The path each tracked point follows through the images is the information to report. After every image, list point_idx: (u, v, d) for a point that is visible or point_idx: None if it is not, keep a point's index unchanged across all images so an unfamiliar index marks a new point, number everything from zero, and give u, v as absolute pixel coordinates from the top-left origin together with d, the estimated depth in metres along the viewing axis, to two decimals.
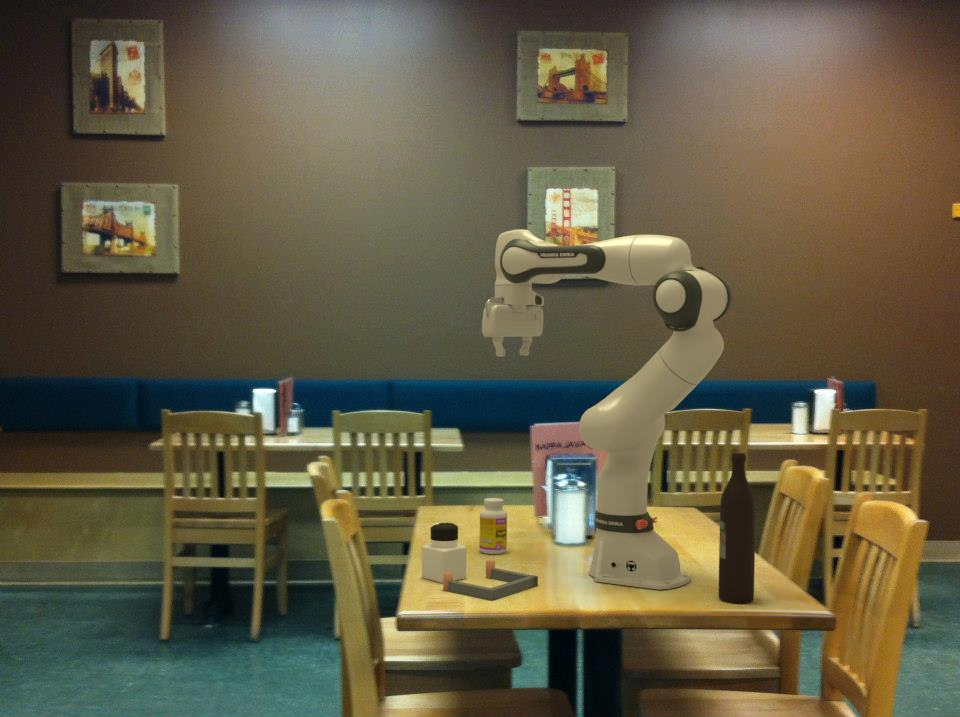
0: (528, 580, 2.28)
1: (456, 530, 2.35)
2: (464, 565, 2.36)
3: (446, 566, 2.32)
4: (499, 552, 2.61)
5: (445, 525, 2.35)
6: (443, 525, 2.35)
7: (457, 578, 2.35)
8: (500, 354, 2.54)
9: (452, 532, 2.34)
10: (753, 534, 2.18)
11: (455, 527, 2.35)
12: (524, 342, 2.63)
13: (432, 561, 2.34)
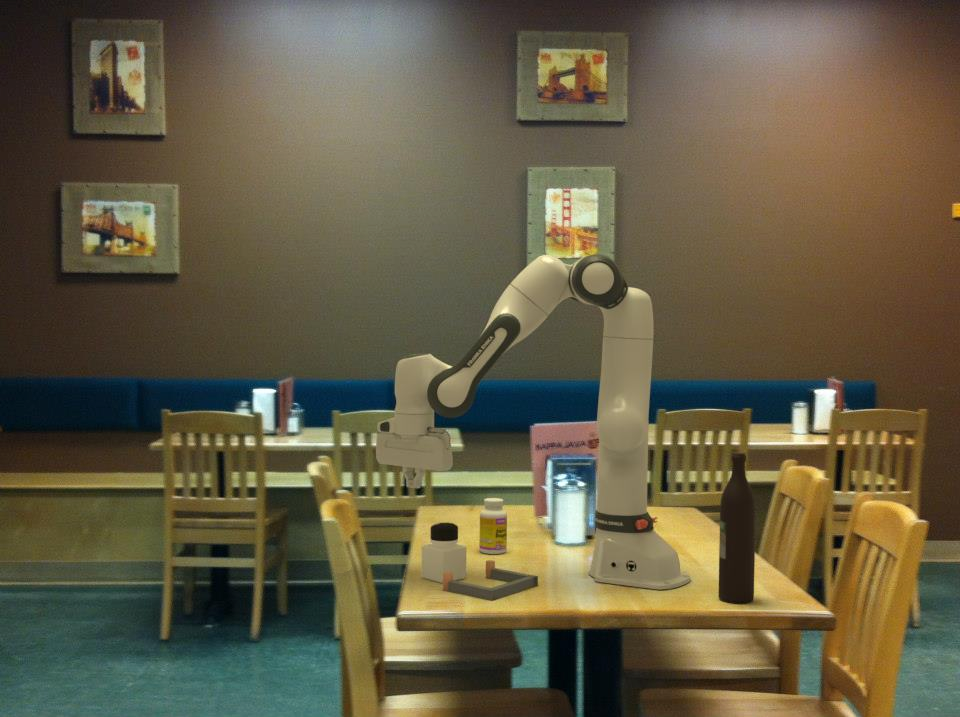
0: (528, 580, 2.28)
1: (456, 530, 2.35)
2: (464, 565, 2.36)
3: (446, 566, 2.32)
4: (499, 552, 2.61)
5: (445, 525, 2.35)
6: (443, 525, 2.35)
7: (457, 578, 2.35)
8: (420, 485, 2.41)
9: (452, 532, 2.34)
10: (753, 534, 2.18)
11: (455, 527, 2.35)
12: (407, 473, 2.42)
13: (432, 561, 2.34)
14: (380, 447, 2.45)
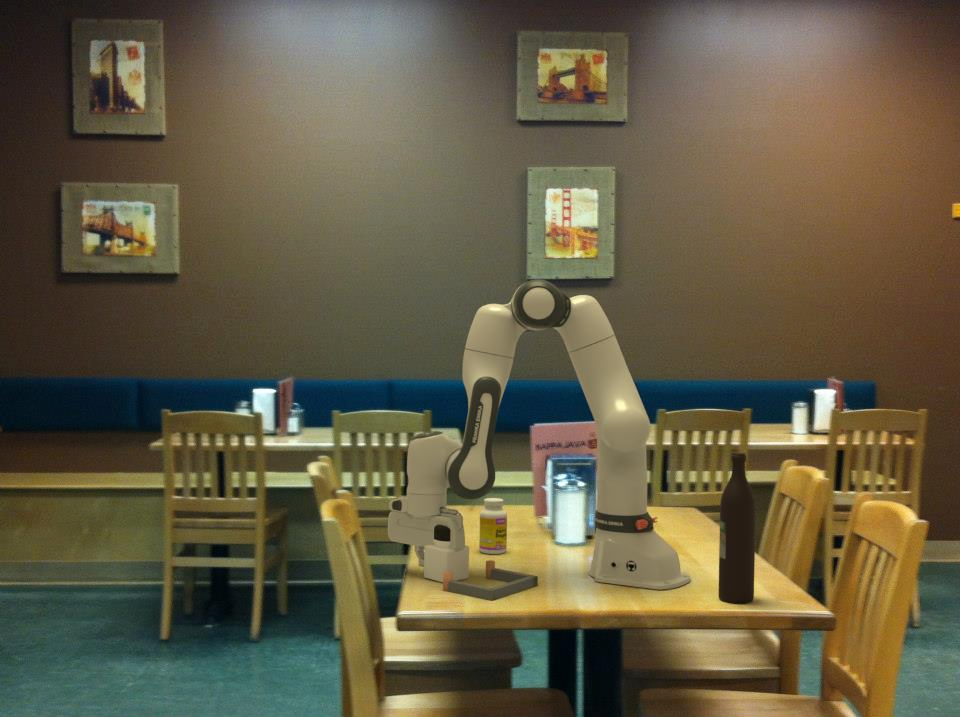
0: (528, 580, 2.28)
1: None
2: (467, 565, 2.36)
3: (450, 566, 2.32)
4: (499, 552, 2.61)
5: None
6: None
7: (460, 578, 2.34)
8: None
9: None
10: (753, 534, 2.18)
11: None
12: (419, 552, 2.40)
13: (435, 561, 2.33)
14: (392, 525, 2.43)
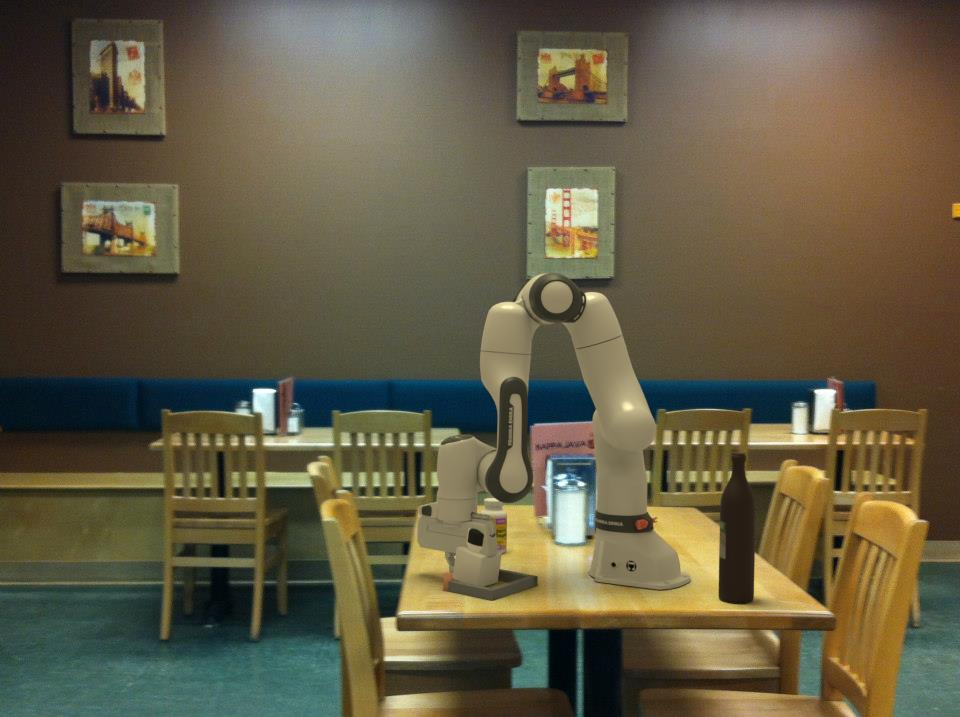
0: (528, 580, 2.28)
1: None
2: (497, 570, 2.32)
3: (482, 571, 2.27)
4: None
5: None
6: None
7: (490, 583, 2.30)
8: None
9: None
10: (753, 534, 2.18)
11: (494, 533, 2.29)
12: (449, 558, 2.35)
13: (468, 565, 2.28)
14: (421, 531, 2.38)
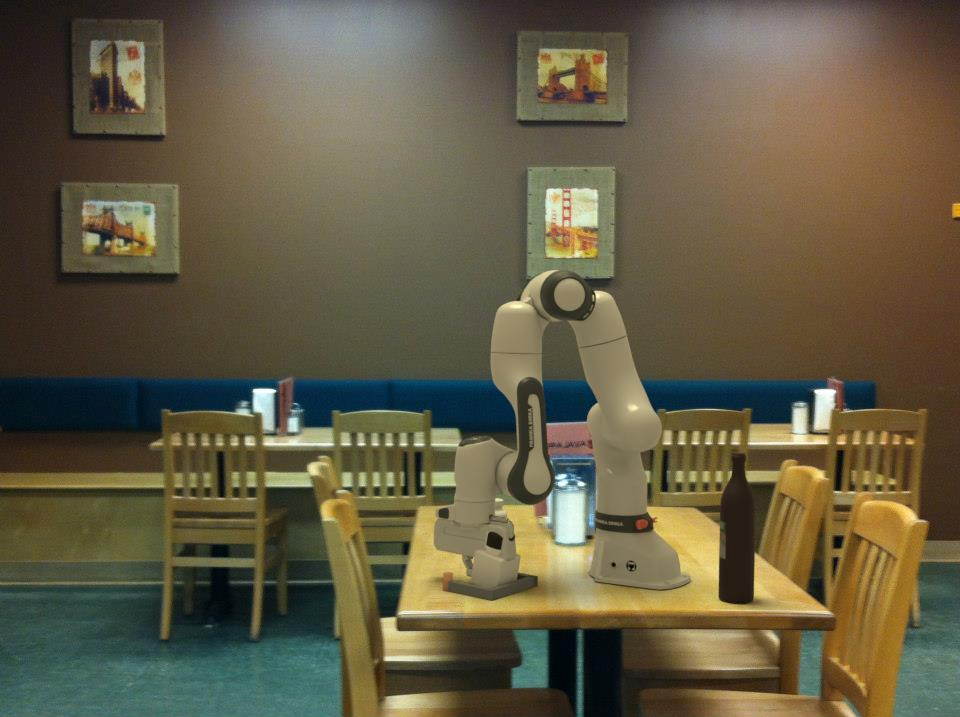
0: (528, 580, 2.28)
1: None
2: (516, 574, 2.28)
3: (502, 575, 2.24)
4: None
5: None
6: None
7: None
8: None
9: None
10: (753, 534, 2.18)
11: (513, 536, 2.26)
12: (467, 561, 2.32)
13: (486, 568, 2.25)
14: (438, 533, 2.35)
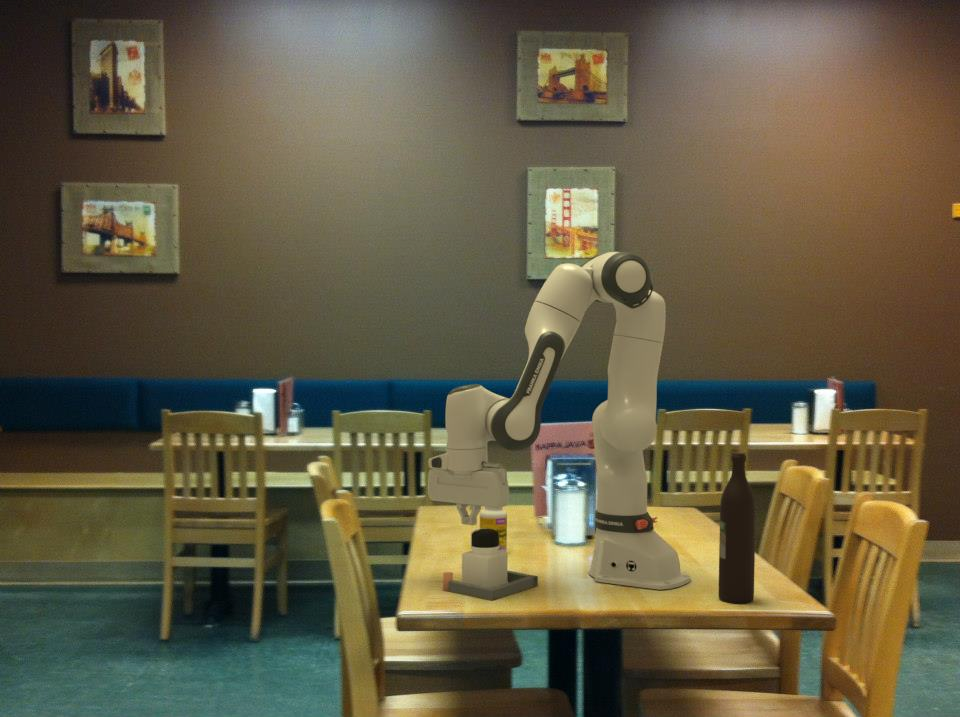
0: (528, 580, 2.28)
1: (498, 536, 2.29)
2: (506, 571, 2.30)
3: (491, 573, 2.26)
4: None
5: (487, 531, 2.28)
6: (485, 531, 2.28)
7: None
8: (475, 522, 2.32)
9: (495, 538, 2.28)
10: (753, 534, 2.18)
11: (497, 533, 2.29)
12: (461, 509, 2.33)
13: (475, 568, 2.27)
14: (432, 483, 2.36)
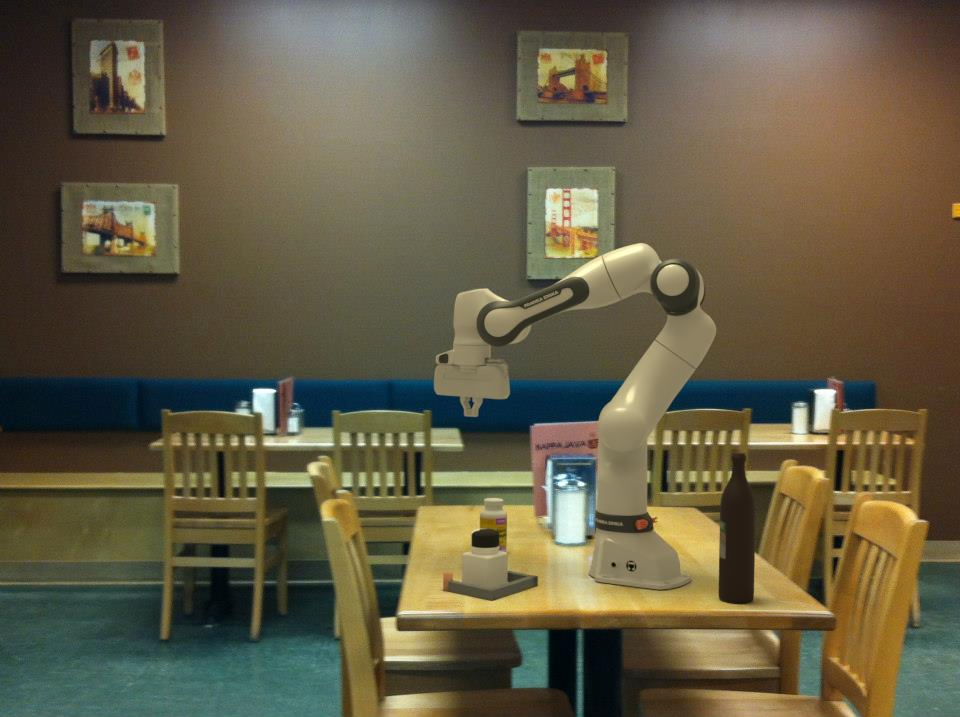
0: (528, 580, 2.28)
1: (498, 536, 2.29)
2: (506, 572, 2.30)
3: (491, 573, 2.26)
4: None
5: (487, 531, 2.28)
6: (485, 531, 2.28)
7: None
8: (477, 414, 2.53)
9: (495, 538, 2.28)
10: (753, 534, 2.18)
11: (497, 533, 2.29)
12: (464, 402, 2.53)
13: (475, 569, 2.27)
14: (438, 379, 2.56)
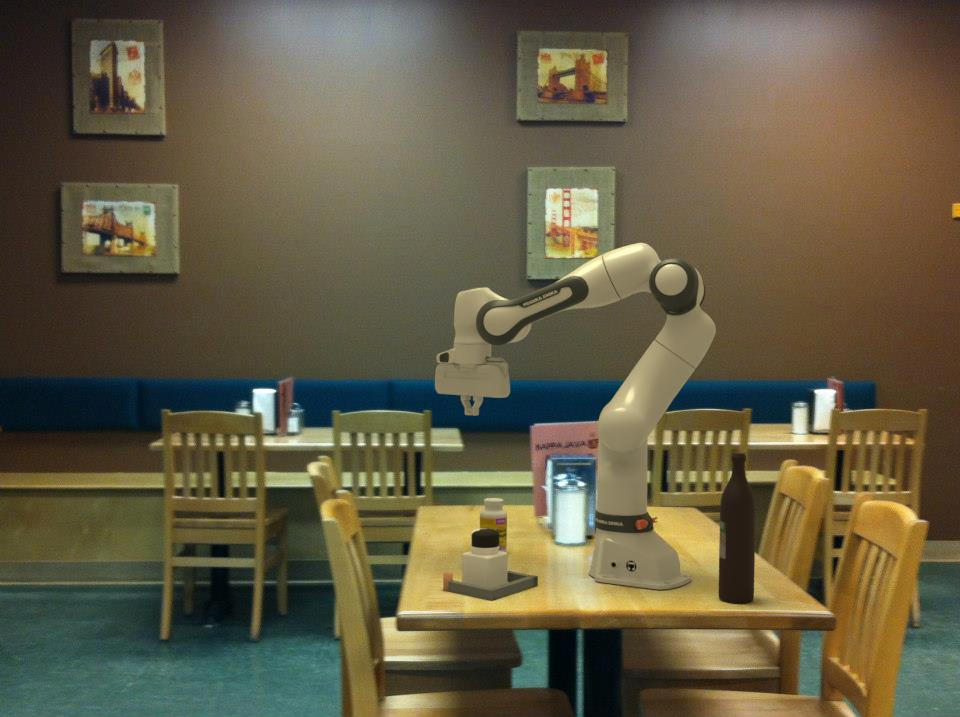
0: (528, 580, 2.28)
1: (498, 536, 2.29)
2: (506, 572, 2.30)
3: (491, 573, 2.26)
4: None
5: (487, 531, 2.28)
6: (485, 531, 2.28)
7: None
8: (477, 413, 2.53)
9: (495, 538, 2.28)
10: (753, 534, 2.18)
11: (497, 533, 2.29)
12: (465, 401, 2.54)
13: (475, 569, 2.27)
14: (439, 378, 2.57)
